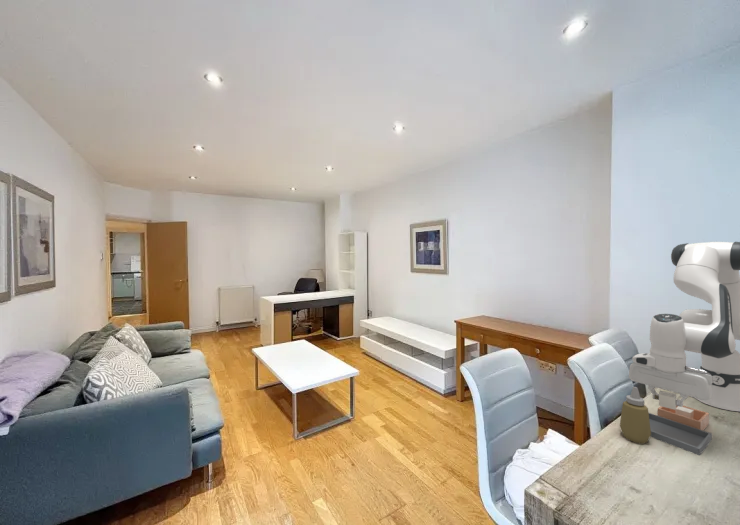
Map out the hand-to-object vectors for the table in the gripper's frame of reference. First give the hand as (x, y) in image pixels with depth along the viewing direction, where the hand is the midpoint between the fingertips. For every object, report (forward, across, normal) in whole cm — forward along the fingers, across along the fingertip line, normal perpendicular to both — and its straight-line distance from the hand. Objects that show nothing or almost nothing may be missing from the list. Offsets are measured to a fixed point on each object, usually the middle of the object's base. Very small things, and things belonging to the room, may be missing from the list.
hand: (667, 402), depth 103 cm
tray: (+12, 0, -2) cm, 13 cm away
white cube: (+12, 0, -19) cm, 23 cm away
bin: (+13, 0, -17) cm, 21 cm away
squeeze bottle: (+12, +6, +11) cm, 17 cm away
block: (+1, 0, 0) cm, 1 cm away
